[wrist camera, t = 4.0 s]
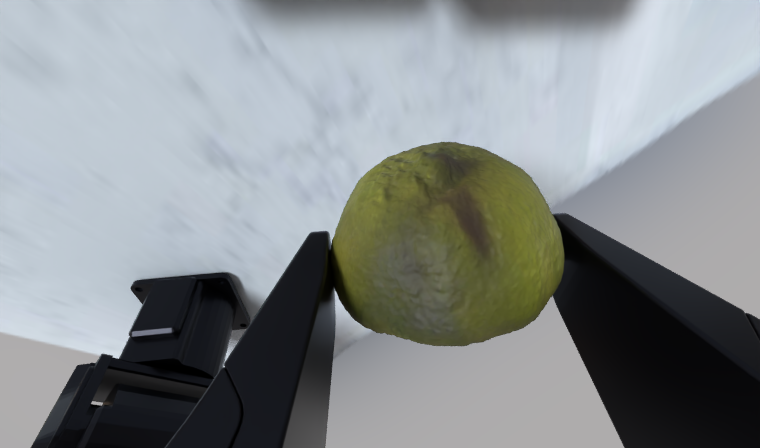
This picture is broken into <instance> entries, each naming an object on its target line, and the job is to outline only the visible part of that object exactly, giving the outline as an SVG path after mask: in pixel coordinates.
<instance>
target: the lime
mask: <svg viewBox="0 0 760 448" xmlns="http://www.w3.org/2000/svg"><path fill="white" fill-rule="evenodd" d="M330 253H331V255H330V256H331V270H332V280H333V285H334V288H335V291H336V292H337V294H338V297H339V300H340V301H341V303H342V304H343V306H344V308H345V310H346V311H348V313H349V314H350V315H351V317H352V318H353V319H354V320H355V321H357V322H358V323H360V324H361V325H363V326H364V327H366V328H369V329H371V330H373V331H375V332H376V333H386V334H389V335H395V336H396V337H400V338H403V339H410V340H411V341H414V342H417V343H420V344H427V345H433V346H467V345H469V344H471V343H479V342H484V341H486V340H489V339H491V338H493V337H496V336H500V335H503V334H507V333H511V332H512V331H516V330H519V329H522V328H524V327H525V326H526V325H528V324H530V323H531V322H532V321H534V320H535V319H536V318H537V317H538V315H539V314H540V312H541V311H542V310H543V308H544V307H545V305H546V304H547V302H548V301H549V299H550V297H552V295H553V294H554V292H555V291H556V289H557V288H558V285H559V284H560V282H561V280H562V275H563V270H564V248H563V242H562V236H561V232H560V229H559V227H558V225H557V222H556V220H555V219H554V216H553V215H552V213H551V212H550V210H549V206H548V204H547V203H546V201H545V198H544V197H543V196H542V194H541V193H540V190H539V188H538V187H537V186H536V184H535V183H534V182H533V180H532V178H531V177H530V176H529V175H528V174H527V173H526V172H525V171H524V170H522V169H521V168H519V167H518V166H516V165H514V164H512V163H511V162H509V161H507V160H505V159H503V158H501V157H499V156H498V155H496V154H494V153H491V152H489V151H487V150H485V149H482V148H480V147H474V146H469V145H465V144H459V143H456V142H440V143H433V144H429V145H422V146H419V147H416V148H412V149H410V150H408V151H403V152H401V153H399V154H397V155H393V156H390V157H387V158H386V159H385V160H383V161H382V162H381V163H380V164H378V165H376V166H375V167H374V168H372V169H371V170H370V171H368V172H367V173H366V174H365V175H364V176H363V177H362V178H361V179H360V180H359V181H358V183H357V185H356V186H355V189H354V190H353V192H352V194H351V195H350V198H349V199H348V201H347V204H346V206H345V208H344V210H343V213H342V215H341V218H340V221H339V223H338V226H337V228H336V231H335V236H334V238H333V240H332V245H331V251H330Z"/></svg>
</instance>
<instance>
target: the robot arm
mask: <svg viewBox="0 0 760 448" xmlns="http://www.w3.org/2000/svg"><path fill="white" fill-rule="evenodd" d="M552 215H553V216H554V219H555V220H556V222H557V225H558V227H559V229H560V232H561V236H562V242H563V248H564V270H563V275H562V280H561V282H560V284H559V285H558V288H557V289H556V291H555V292H554V294H553V298H554V300H555V303H556V305H557V308H558V310H559V312H560V314H561V316H562V318H563V320H564V323H565V325H566V327H567V329H568V331H569V333H570V335H571V337H572V339H573V341H574V343H575V345H576V347H577V350H578V351H579V354H580V356H581V358H582V360H583V362H584V364H585V366H586V368H587V370H588V373H589V375H590V377H591V379H592V381H593V383H594V385H595V387H596V389H597V391H598V393H599V396H600V398H601V400H602V402H603V404H604V406H605V408H606V410H607V412H608V414H609V416H610V418H611V420H612V423H613V425H614V427H615V429H616V431H617V433H618V435H619V437H620V439H621V441H622V443H623V446H624V447H625V448H760V319H758V318H756V317H755V316H753V315H751V314H748V313H745V312H744V311H743V310H742V309H740V308H738V307H736V306H734V305H732V304H731V303H729V302H727V301H725V300H723V299H722V298H720V297H718V296H716V295H714V294H712V293H710V292H709V291H707V290H705V289H703V288H702V287H700V286H698V285H696V284H694V283H692V282H691V281H689V280H687V279H685V278H683V277H682V276H680V275H678V274H676V273H674V272H672V271H671V270H669V269H667V268H665V267H663V266H661V265H660V264H658V263H656V262H654V261H652V260H651V259H649V258H647V257H645V256H643V255H641V254H640V253H638V252H636V251H634V250H632V249H631V248H629V247H627V246H625V245H623V244H621V243H620V242H618V241H616V240H614V239H612V238H611V237H608V236H607V235H605V234H603V233H601V232H600V231H598V230H596V229H594V228H592V227H590V226H589V225H587V224H585V223H583V222H581V221H580V220H578V219H576V218H574V217H572V216H570V215H569V214H566V213H557V214H552ZM330 251H331V241H330V235H329V232H327V231H318V232H311V233H310V234H309V235H308V237H307V238H306V240H305V241H304V243H303V244H302V246H301V247H300V249H299V250H298V252H297V253H296V255H295V256H294V258H293V259H292V261H291V262H290V264H289V265H288V267H287V269H286V270H285V272H284V273H283V275H282V276H281V278H280V279H279V281H278V282H277V284H276V285H275V287H274V288H273V290H272V291H271V293H270V294H269V296H268V298H267V299H266V301H265V302H264V304H263V305H262V307H261V308H260V310H259V311H258V313H257V314H256V316H255V317H254V319H253V320H252V322H251V321H250V318H249V316H248V314H247V312H246V310H245V308H244V305H243V303H242V301H241V299H240V297H239V295H238V293H237V290H236V288H235V286H234V284H233V282H232V280H231V278H230V276H229V275H228V274H225V273H215V274H204V275H193V276H181V277H170V278H159V279H148V280H137V281H135V282H133V284H132V286H131V290H132V292H133V293H134V294H135V295H136V297H137V298H138V299H139V300H140V302H141V303H142V304H143V305H142V307H141V309H140V311H139V313H138V315H137V317H136V319H135V321H134V323H133V326H132V328H131V330H130V332H129V336H130V337H129V339H128V341H127V343H126V345H125V347H124V349H123V352H122V354H121V356H120V358H119V359H117V358H112V357H113V356H111V355H107V354H101V356H100V357H99V359H98V360H97V362H96V363H90V364H83V365H78V366H77V367H76V369H75V370H74V372H73V374H72V375H71V377H70V379H69V381H68V382H67V384H66V386H65V388H64V389H63V391H62V393H61V395H60V396H59V398H58V400H57V402H56V404H55V405H54V407H53V409H52V411H51V412H50V414H49V416H48V418H47V420H46V421H45V423H44V425H43V427H42V429H41V430H40V432H39V434H38V436H37V437H36V439H35V441H34V443H33V445H32V446H31V448H325V444H326V432H327V420H328V409H329V397H330V385H331V375H332V374H331V373H332V363H333V351H334V340H335V292H334V285H333V280H332V270H331V256H330V255H331V253H330ZM250 322H251V323H250ZM246 328H247V330H246V331H245V333H244V334H243V336H242V337H241V339H240V340H239V342H238V343H237V345H236V346H235V348H234V349H233V351H232V352H231V354H230V355H229V357H228V358H227V360H226V362H225V363H224V361H225V357H226V352H227V348H228V344H229V340H230V336H231V332H232V330H238V329H246ZM223 365H224V366H225V368H224V367H223ZM92 401H96V402H103V405H102V406H99V405H93V404H91V402H92Z"/></svg>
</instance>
